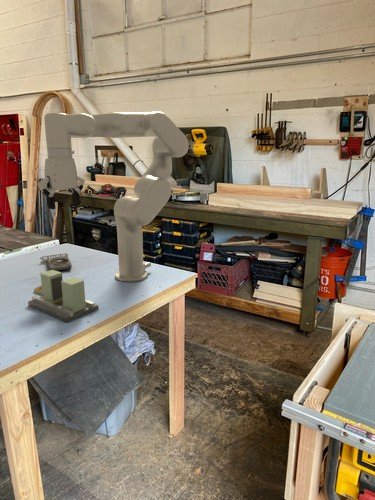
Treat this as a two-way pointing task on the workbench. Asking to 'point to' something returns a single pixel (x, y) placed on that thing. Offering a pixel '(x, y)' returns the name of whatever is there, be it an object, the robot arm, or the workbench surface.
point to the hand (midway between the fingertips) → (64, 206)
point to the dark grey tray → (61, 309)
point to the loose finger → (52, 286)
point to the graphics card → (57, 262)
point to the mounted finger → (73, 294)
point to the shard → (38, 290)
